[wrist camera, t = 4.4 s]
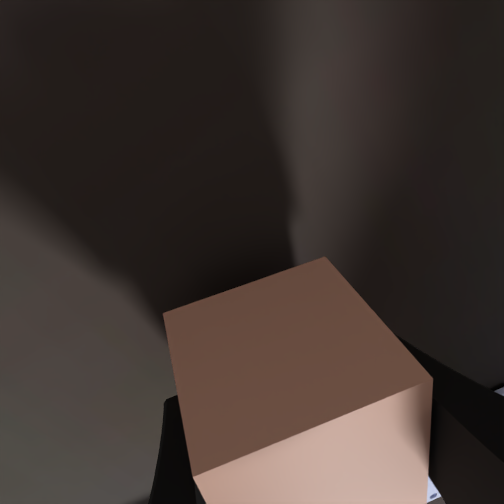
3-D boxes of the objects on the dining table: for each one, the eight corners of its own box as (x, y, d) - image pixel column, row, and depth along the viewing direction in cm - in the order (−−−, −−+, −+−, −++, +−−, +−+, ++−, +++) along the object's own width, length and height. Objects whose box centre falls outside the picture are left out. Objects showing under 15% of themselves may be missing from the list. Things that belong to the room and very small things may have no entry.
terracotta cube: (325, 256, 13) (433, 378, 8) (339, 368, 15) (426, 503, 11) (162, 313, 12) (192, 477, 8) (207, 420, 15) (247, 584, 10)
